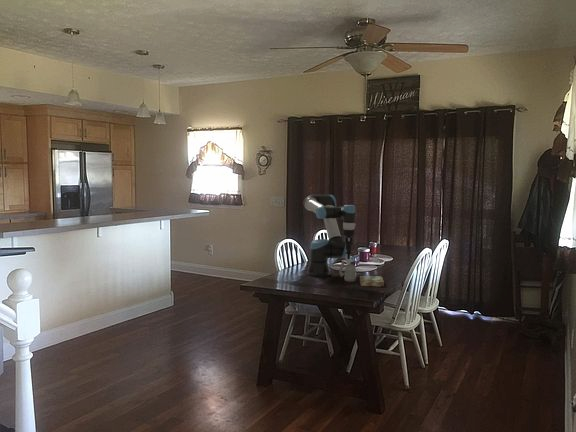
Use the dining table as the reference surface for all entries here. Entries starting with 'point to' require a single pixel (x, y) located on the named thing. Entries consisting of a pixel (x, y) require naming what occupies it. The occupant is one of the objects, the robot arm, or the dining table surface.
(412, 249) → the dining table surface
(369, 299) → the dining table surface
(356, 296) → the dining table surface
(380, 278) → the stand
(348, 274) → the mug
